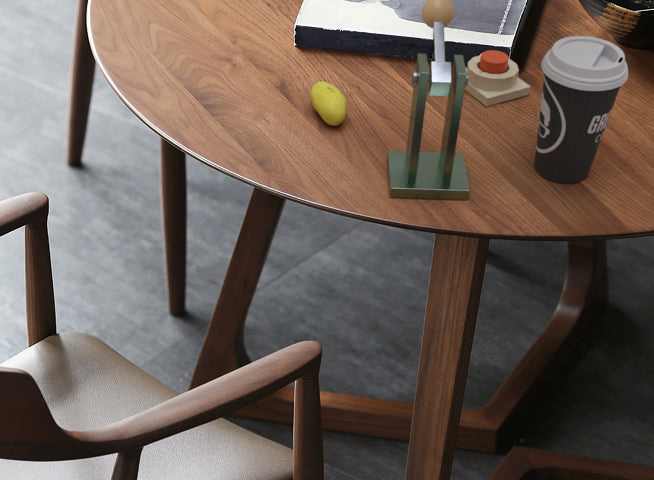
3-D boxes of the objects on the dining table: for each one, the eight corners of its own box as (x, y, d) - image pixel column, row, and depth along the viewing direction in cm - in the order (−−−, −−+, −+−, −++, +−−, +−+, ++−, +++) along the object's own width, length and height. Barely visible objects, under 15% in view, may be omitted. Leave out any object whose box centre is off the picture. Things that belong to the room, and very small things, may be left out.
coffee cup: (568, 200, 124) (597, 82, 114) (504, 165, 129) (526, 49, 119) (618, 171, 129) (650, 55, 118) (554, 138, 134) (580, 24, 124)
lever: (419, 9, 123) (423, -13, 120) (451, 10, 123) (456, -11, 120) (421, 98, 119) (425, 78, 115) (454, 99, 119) (459, 79, 115)
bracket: (386, 159, 129) (398, 44, 119) (461, 162, 129) (479, 47, 119) (389, 197, 124) (402, 80, 114) (468, 200, 124) (487, 83, 114)
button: (512, 72, 141) (514, 59, 140) (489, 77, 140) (491, 65, 138) (495, 60, 143) (497, 48, 142) (473, 65, 142) (475, 53, 141)
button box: (529, 94, 142) (533, 73, 140) (486, 106, 139) (489, 85, 137) (493, 68, 147) (496, 47, 145) (450, 79, 144) (453, 58, 142)
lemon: (319, 133, 134) (320, 104, 131) (305, 100, 139) (306, 73, 137) (352, 130, 134) (354, 102, 132) (337, 98, 140) (338, 70, 137)
